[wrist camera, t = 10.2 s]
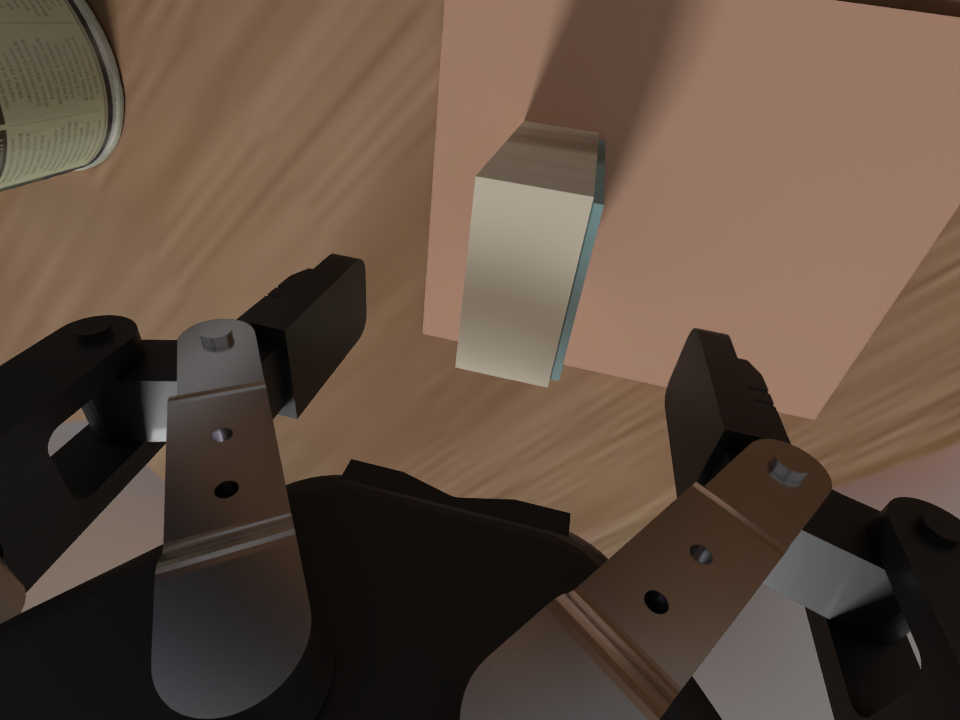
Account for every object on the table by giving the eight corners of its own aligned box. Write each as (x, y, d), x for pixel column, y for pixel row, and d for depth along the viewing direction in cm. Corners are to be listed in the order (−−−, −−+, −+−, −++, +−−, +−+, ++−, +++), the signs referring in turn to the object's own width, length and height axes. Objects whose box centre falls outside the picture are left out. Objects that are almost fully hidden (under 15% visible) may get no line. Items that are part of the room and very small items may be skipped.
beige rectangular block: (523, 120, 20) (475, 176, 13) (606, 134, 20) (606, 199, 12) (502, 260, 23) (455, 367, 16) (573, 273, 23) (556, 389, 16)
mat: (450, -52, 18) (448, -53, 18) (1065, 33, 16) (1075, 33, 15) (424, 329, 27) (422, 333, 27) (811, 414, 25) (814, 419, 25)
